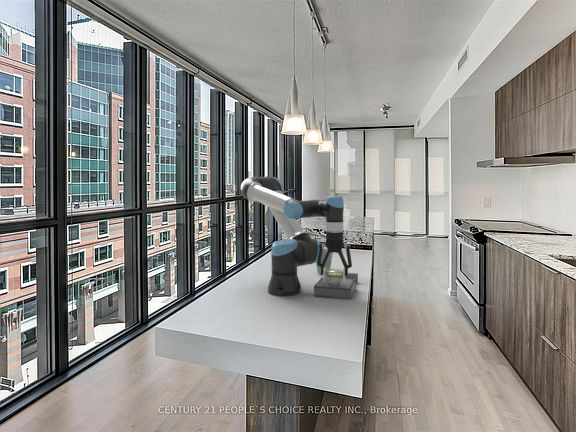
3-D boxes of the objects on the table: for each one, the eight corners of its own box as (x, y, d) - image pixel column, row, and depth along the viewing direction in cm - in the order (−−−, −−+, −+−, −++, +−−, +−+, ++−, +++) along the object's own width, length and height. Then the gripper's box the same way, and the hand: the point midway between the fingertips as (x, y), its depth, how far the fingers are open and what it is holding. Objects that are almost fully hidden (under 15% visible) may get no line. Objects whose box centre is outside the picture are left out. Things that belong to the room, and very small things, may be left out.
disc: (332, 277, 167) (332, 273, 167) (321, 273, 174) (321, 270, 174) (347, 275, 171) (347, 271, 171) (336, 271, 178) (336, 268, 178)
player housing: (350, 299, 166) (350, 278, 165) (313, 296, 170) (314, 276, 170) (355, 289, 181) (355, 270, 180) (321, 286, 186) (321, 268, 185)
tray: (353, 290, 178) (354, 281, 178) (320, 288, 183) (320, 279, 182) (357, 282, 194) (358, 273, 194) (326, 279, 198) (327, 271, 198)
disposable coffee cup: (333, 271, 218) (333, 244, 217) (333, 275, 207) (333, 248, 206) (314, 270, 219) (314, 244, 218) (313, 275, 208) (313, 247, 207)
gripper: (359, 231, 172) (358, 281, 173) (313, 229, 177) (313, 278, 179) (357, 233, 164) (356, 286, 166) (309, 231, 170) (309, 282, 172)
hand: (334, 282), depth 173 cm, fingers closed on disc, 8 cm apart
